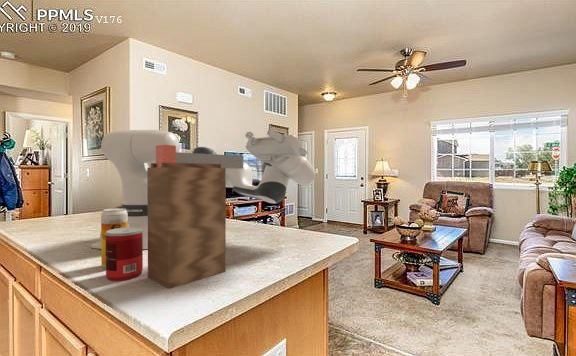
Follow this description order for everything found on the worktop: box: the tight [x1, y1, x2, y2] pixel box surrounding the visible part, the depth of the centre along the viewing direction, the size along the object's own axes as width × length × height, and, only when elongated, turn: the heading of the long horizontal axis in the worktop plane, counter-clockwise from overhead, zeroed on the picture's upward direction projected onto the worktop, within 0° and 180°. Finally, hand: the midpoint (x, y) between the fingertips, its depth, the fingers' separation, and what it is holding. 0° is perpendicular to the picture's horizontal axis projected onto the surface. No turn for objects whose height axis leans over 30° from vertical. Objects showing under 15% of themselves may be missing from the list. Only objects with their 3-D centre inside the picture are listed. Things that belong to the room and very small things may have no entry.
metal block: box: [156, 145, 244, 169], centre depth 77 cm, size 23×4×5 cm, turn 138°
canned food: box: [105, 227, 144, 282], centre depth 73 cm, size 8×8×11 cm
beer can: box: [100, 208, 128, 269], centre depth 81 cm, size 6×6×15 cm
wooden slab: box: [146, 163, 227, 289], centre depth 74 cm, size 15×10×27 cm, turn 138°
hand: (258, 132), depth 92 cm, fingers open, 8 cm apart
